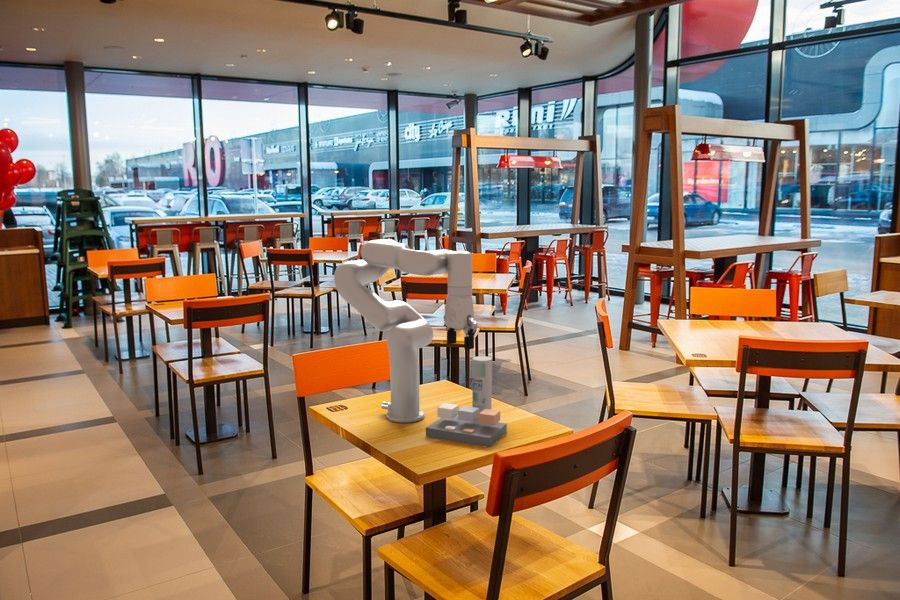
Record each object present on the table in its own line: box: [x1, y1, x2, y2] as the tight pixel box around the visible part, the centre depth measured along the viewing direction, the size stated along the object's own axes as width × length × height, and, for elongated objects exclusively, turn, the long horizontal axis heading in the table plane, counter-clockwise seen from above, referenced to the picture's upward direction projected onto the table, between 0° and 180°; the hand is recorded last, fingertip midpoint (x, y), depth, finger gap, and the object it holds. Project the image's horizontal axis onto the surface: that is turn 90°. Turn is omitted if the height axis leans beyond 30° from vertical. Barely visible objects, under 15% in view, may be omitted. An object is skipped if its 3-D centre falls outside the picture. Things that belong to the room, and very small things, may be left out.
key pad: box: [425, 415, 508, 448], centre depth 212 cm, size 21×14×4 cm, turn 64°
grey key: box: [457, 405, 479, 422], centre depth 213 cm, size 5×5×3 cm
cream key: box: [437, 402, 460, 419], centre depth 216 cm, size 5×5×3 cm
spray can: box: [471, 355, 493, 419], centre depth 228 cm, size 6×6×20 cm
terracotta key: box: [479, 409, 501, 425], centre depth 210 cm, size 5×5×3 cm
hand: (460, 346), depth 214 cm, fingers open, 9 cm apart
